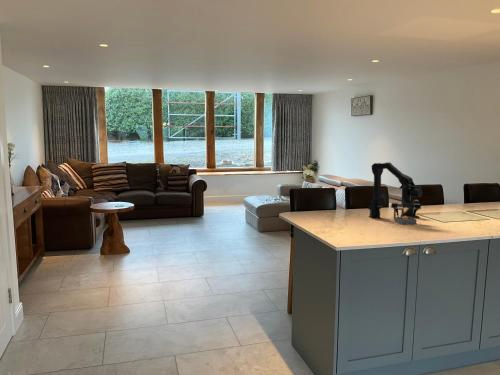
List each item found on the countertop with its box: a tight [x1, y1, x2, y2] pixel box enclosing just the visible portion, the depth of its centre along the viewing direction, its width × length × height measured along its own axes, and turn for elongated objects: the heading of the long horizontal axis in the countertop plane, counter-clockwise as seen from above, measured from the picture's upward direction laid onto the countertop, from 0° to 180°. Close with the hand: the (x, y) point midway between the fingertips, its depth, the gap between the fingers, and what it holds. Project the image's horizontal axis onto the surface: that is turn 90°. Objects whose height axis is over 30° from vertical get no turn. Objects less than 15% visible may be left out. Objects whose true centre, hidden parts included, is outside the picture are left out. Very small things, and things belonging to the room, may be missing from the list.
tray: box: [394, 216, 417, 225], centre depth 284 cm, size 10×10×3 cm
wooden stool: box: [393, 207, 405, 221], centre depth 297 cm, size 6×6×8 cm
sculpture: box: [404, 199, 421, 219], centre depth 305 cm, size 6×13×13 cm, turn 50°
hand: (405, 218), depth 284 cm, fingers open, 9 cm apart
